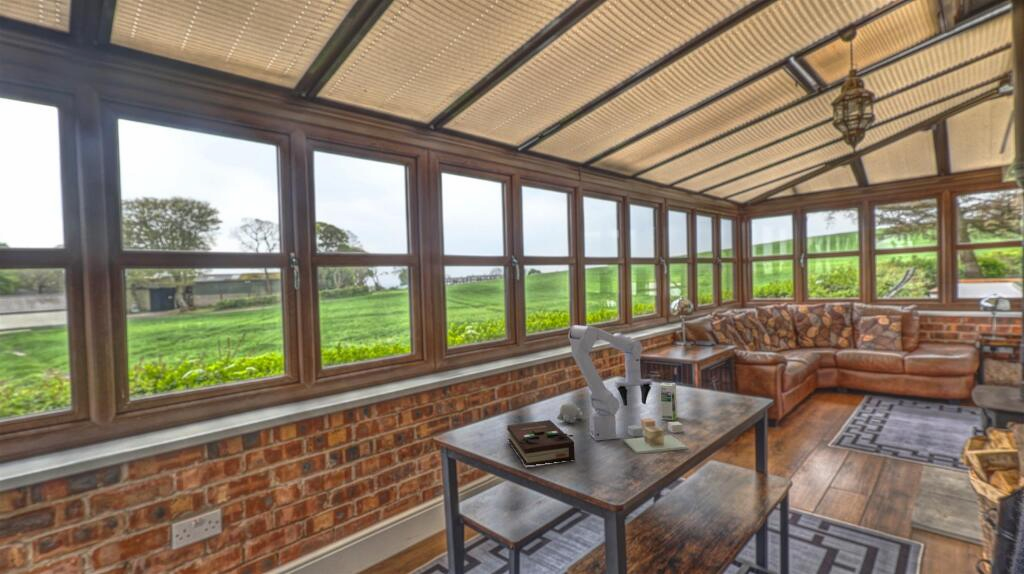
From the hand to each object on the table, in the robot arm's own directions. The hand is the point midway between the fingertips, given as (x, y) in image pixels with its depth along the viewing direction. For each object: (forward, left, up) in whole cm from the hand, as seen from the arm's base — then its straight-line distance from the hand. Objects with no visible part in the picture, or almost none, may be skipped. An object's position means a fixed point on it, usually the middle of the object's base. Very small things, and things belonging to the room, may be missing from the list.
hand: (634, 404), depth 178 cm
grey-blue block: (-3, -7, -10) cm, 12 cm away
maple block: (-1, -19, -9) cm, 21 cm away
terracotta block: (+5, -1, -10) cm, 11 cm away
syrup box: (+18, +8, -10) cm, 22 cm away
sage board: (-1, -19, -9) cm, 21 cm away
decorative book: (-41, -14, -10) cm, 45 cm away
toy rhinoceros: (-22, +15, -10) cm, 28 cm away
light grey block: (+13, -7, -10) cm, 18 cm away
